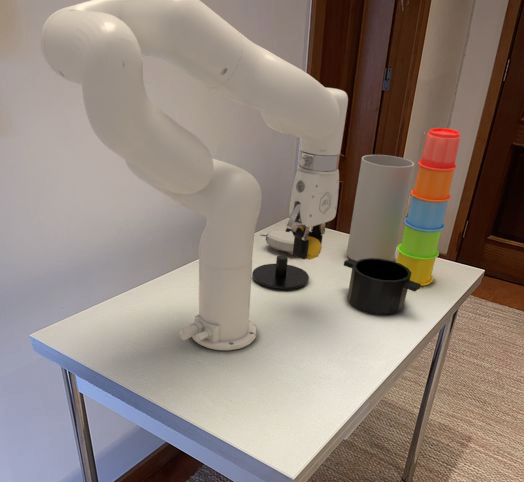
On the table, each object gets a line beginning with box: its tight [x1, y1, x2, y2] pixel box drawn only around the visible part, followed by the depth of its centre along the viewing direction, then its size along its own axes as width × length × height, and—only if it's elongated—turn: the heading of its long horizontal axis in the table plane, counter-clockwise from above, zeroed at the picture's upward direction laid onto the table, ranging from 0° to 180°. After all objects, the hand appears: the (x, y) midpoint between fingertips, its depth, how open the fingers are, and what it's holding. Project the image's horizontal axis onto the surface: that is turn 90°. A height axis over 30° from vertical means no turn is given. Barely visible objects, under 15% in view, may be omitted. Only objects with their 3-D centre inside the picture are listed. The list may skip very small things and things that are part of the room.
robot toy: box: [259, 227, 295, 255], centre depth 142 cm, size 12×4×15 cm
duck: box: [300, 226, 322, 261], centre depth 106 cm, size 7×4×6 cm, turn 49°
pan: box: [343, 258, 422, 317], centre depth 116 cm, size 12×18×8 cm
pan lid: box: [251, 254, 310, 290], centre depth 124 cm, size 13×13×6 cm
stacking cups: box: [396, 127, 462, 287], centre depth 122 cm, size 10×10×35 cm
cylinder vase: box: [346, 154, 415, 261], centre depth 134 cm, size 12×12×25 cm
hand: (306, 253), depth 108 cm, fingers closed on duck, 3 cm apart
